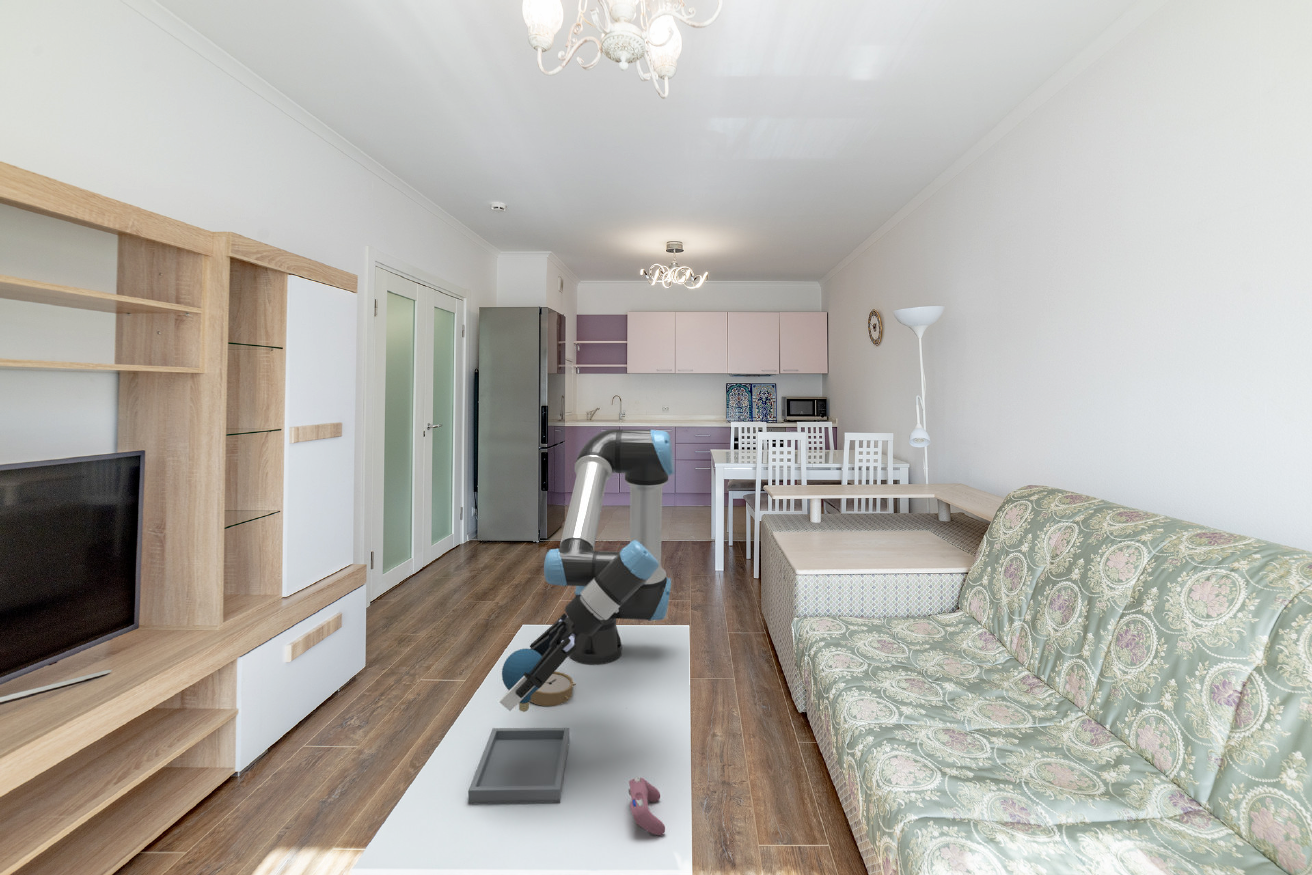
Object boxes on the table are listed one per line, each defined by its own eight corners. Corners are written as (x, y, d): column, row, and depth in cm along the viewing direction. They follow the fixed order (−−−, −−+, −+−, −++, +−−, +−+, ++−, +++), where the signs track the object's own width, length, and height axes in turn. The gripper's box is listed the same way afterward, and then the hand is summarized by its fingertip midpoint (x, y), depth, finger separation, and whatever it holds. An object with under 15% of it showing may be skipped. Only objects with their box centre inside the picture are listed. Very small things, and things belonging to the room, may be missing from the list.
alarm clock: (568, 697, 139) (506, 681, 140) (564, 717, 139) (502, 700, 141) (579, 675, 150) (522, 660, 151) (575, 693, 150) (518, 678, 152)
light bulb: (535, 725, 110) (536, 662, 109) (493, 719, 112) (494, 657, 111) (552, 703, 118) (553, 643, 117) (513, 697, 120) (513, 639, 119)
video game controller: (639, 806, 108) (622, 774, 108) (662, 795, 109) (645, 762, 108) (642, 847, 99) (624, 812, 98) (667, 834, 99) (649, 799, 98)
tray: (492, 739, 126) (492, 728, 125) (569, 738, 126) (569, 727, 126) (468, 803, 106) (468, 790, 105) (559, 802, 107) (559, 789, 106)
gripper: (611, 641, 107) (518, 736, 104) (599, 602, 127) (521, 680, 125) (582, 614, 105) (487, 709, 103) (574, 578, 126) (495, 657, 124)
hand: (506, 693), depth 114 cm, fingers closed on light bulb, 8 cm apart
